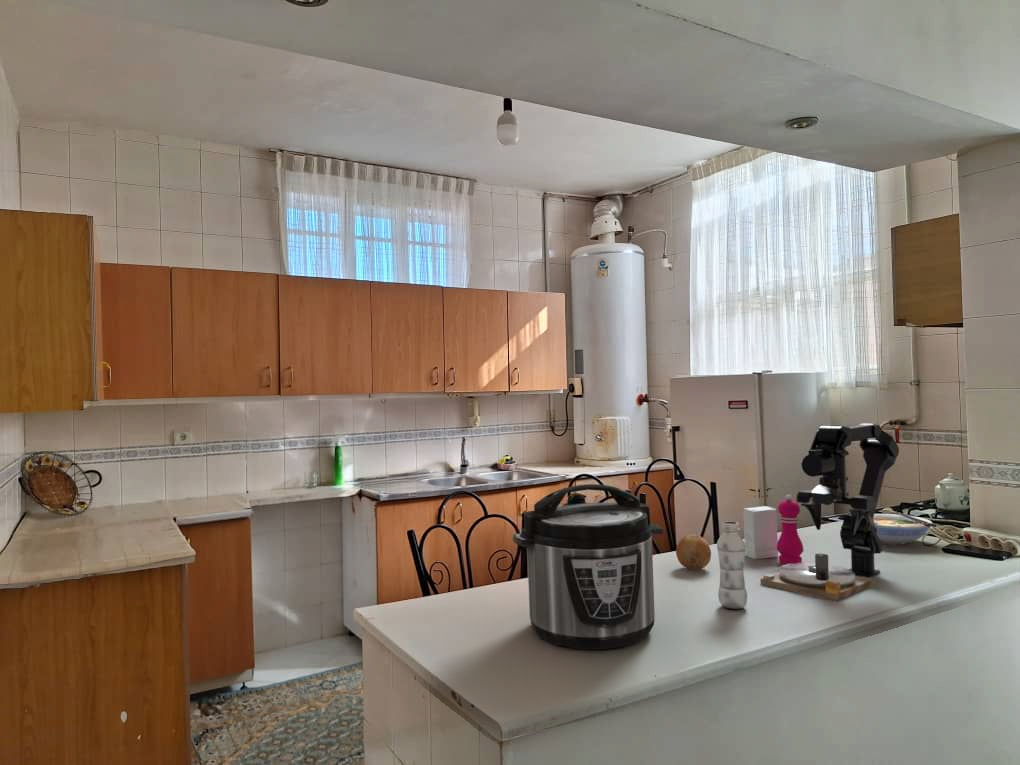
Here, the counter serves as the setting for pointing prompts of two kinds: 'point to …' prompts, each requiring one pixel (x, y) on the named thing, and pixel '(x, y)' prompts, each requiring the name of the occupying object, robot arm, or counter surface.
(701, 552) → the onion
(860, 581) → the dial base
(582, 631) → the pressure cooker
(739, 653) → the counter surface
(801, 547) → the pepper mill
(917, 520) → the ramen bowl
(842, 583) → the dial
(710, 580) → the counter surface
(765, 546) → the skincare box
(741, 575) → the plastic bottle
